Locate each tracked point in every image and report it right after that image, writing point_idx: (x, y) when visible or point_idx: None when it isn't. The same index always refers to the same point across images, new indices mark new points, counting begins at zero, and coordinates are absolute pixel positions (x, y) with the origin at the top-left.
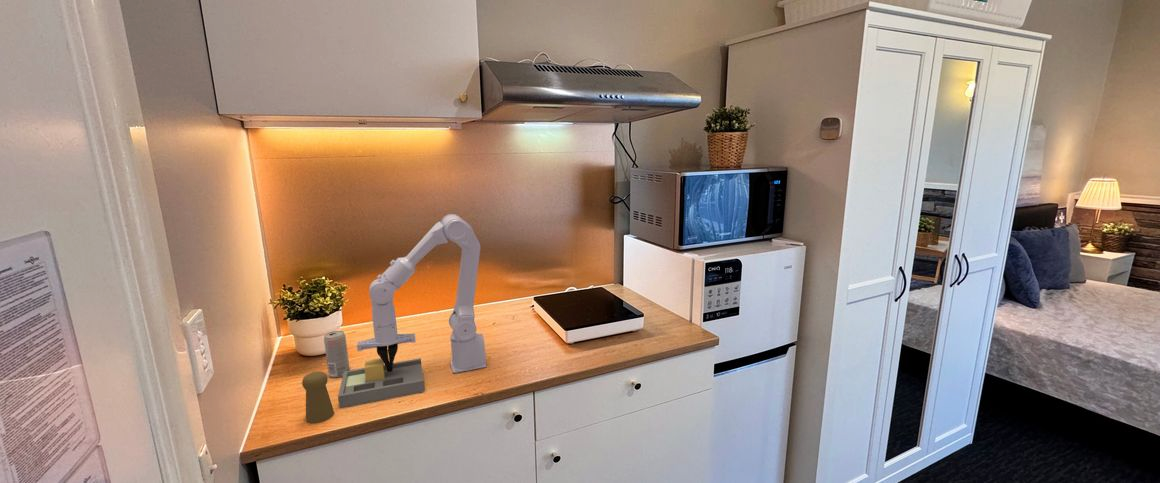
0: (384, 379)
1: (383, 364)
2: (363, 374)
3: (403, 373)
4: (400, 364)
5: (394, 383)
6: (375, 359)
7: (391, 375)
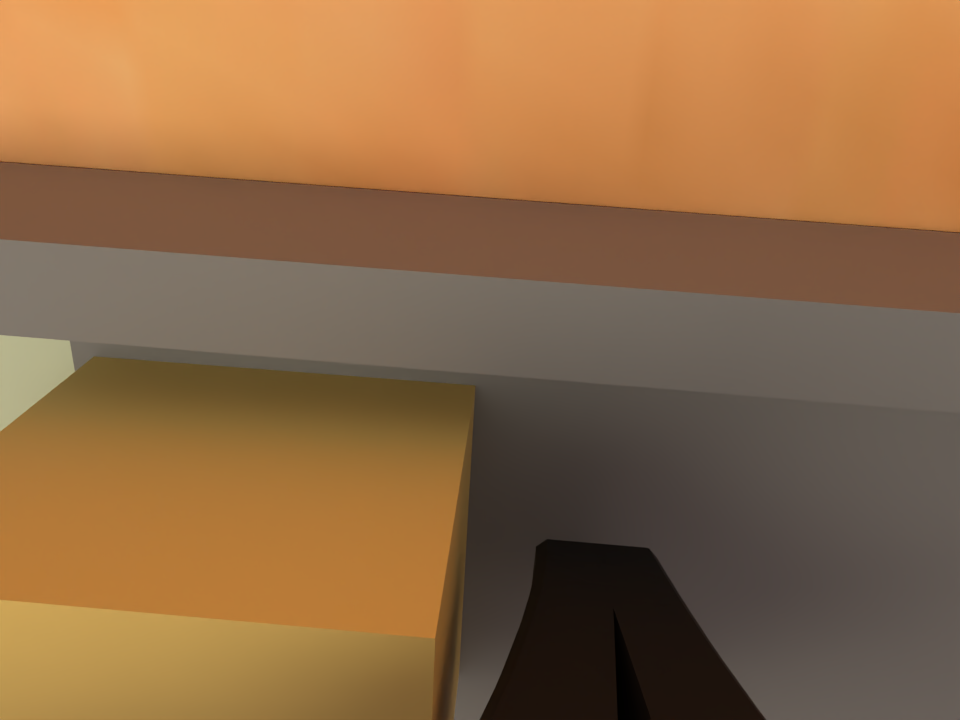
0: (458, 706)
1: (443, 708)
2: (15, 337)
3: (824, 655)
4: (887, 391)
5: None
6: (166, 640)
7: None
